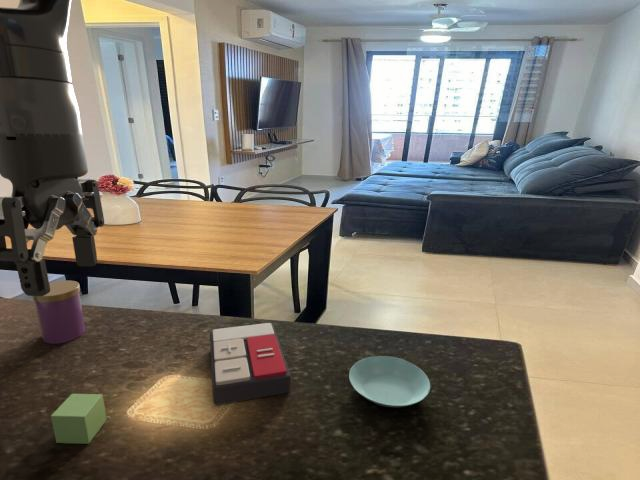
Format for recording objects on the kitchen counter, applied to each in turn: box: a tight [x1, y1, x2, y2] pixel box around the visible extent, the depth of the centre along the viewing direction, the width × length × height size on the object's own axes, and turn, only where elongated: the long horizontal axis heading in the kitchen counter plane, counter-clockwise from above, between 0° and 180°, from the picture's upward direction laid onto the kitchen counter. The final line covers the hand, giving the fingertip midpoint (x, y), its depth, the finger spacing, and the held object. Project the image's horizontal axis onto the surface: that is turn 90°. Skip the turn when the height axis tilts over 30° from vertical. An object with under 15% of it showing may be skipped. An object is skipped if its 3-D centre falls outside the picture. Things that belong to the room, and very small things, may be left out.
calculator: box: [209, 322, 291, 406], centre depth 61 cm, size 11×4×15 cm
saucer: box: [348, 355, 431, 408], centre depth 57 cm, size 12×12×2 cm
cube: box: [50, 393, 107, 445], centre depth 47 cm, size 4×4×4 cm
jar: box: [31, 279, 86, 345], centre depth 68 cm, size 7×7×9 cm
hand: (64, 278), depth 43 cm, fingers open, 8 cm apart
